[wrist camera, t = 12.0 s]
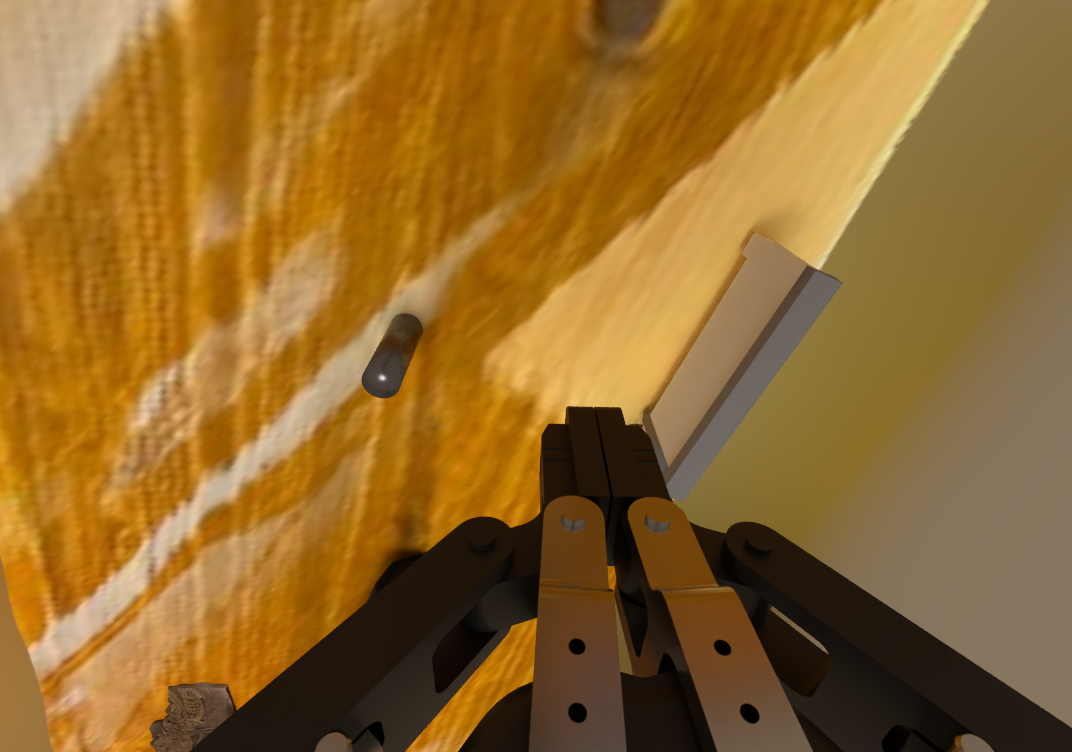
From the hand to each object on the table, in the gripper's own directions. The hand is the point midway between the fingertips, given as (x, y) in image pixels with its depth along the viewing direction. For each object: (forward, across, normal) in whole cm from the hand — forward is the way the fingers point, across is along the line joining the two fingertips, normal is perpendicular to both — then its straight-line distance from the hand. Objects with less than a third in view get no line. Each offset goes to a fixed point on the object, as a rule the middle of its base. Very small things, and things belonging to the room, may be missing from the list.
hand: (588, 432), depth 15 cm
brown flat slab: (+24, +43, +68) cm, 85 cm away
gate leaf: (+23, -12, +9) cm, 27 cm away
